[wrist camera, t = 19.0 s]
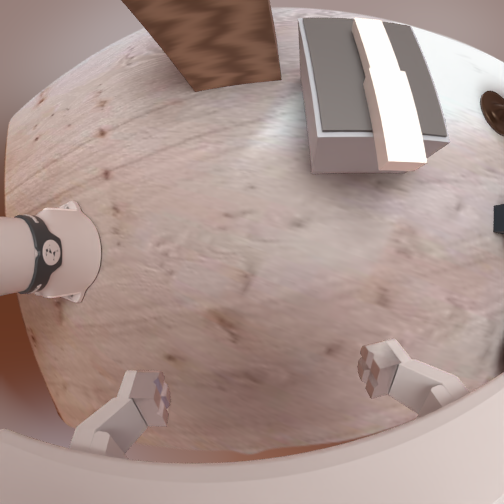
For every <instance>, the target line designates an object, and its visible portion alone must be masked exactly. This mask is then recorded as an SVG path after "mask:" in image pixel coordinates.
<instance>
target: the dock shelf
mask: <svg viewBox="0 0 504 504" xmlns="http://www.w3.org/2000/svg"><path fill="white" fill-rule="evenodd" d="M353 20H354V19H346V18H298V30H299V49H300V75H301V85H302V92H303V99H304V107H305V115H306V123H307V132H308V141H309V151H310V161H311V172H312V174H325V173H406V172H407V171H393V170H379V169H378V161H377V154H376V147H375V141H374V135H373V129H372V124H371V118H370V113H369V108H368V103H367V99H366V94H365V90H364V86H363V83H364V80H365V73H364V69H363V66H362V62H361V59H360V55H359V52H358V48H357V45H356V42H355V39H354V36H353V33H352V26H353ZM382 23H383V25H384V28H385V30H386V33H387V35H388V38H389V40H390V43H391V46H392V48H393V51H394V54H395V56H396V59H397V62H398V65H399V68H400V71H405V73H406V76H407V79H408V82H409V85H410V89H411V92H412V96H413V99H414V103H415V107H416V111H417V115H418V119H419V123H420V128H421V133H422V137H423V142H424V148H425V153H426V159H427V158H428V157H429V156H431V155H432V154H434V153H435V152H437V151H438V150H440V149H441V148H443V147H444V146H446V145H447V144H449V143H450V139H449V135H448V131H447V126H446V122H445V118H444V115H443V111H442V107H441V104H440V101H439V97H438V94H437V91H436V88H435V85H434V82H433V79H432V76H431V73H430V70H429V68H428V65H427V62H426V60H425V57H424V55H423V52H422V50H421V47H420V45H419V43H418V40H417V38H416V36H415V34H414V31H413V29H412V27H411V26H407V25H401V24H395V23H388V22H382Z"/></svg>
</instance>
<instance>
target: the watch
mask: <svg viewBox="0 0 504 504" xmlns="http://www.w3.org/2000/svg"><path fill="white" fill-rule="evenodd" d="M493 232H496V233H501V234H504V204H502V205H496V206H494V230H493Z"/></svg>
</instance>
